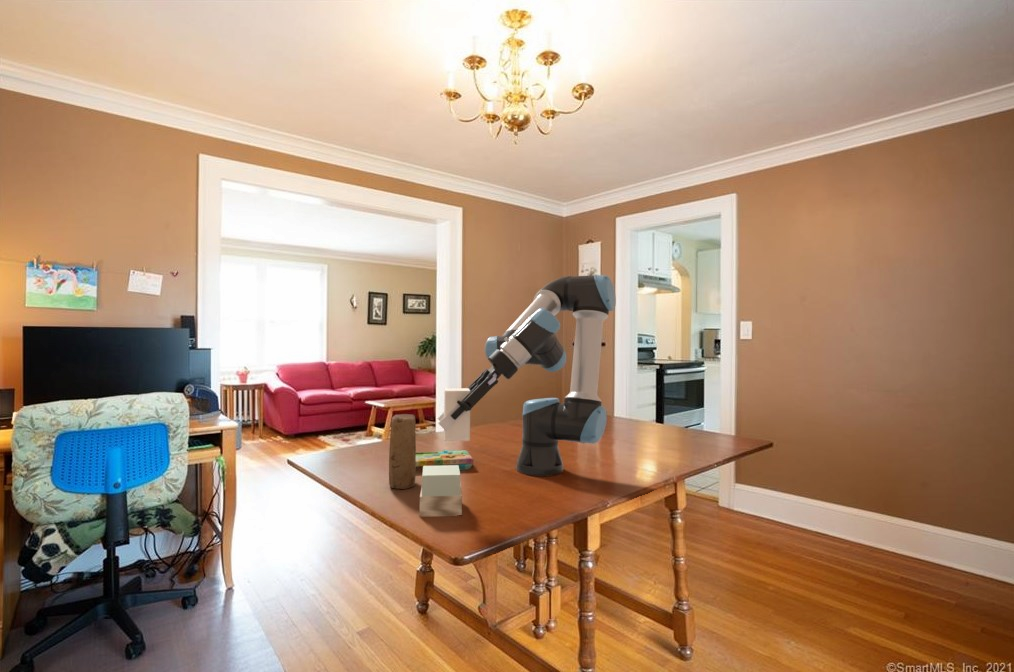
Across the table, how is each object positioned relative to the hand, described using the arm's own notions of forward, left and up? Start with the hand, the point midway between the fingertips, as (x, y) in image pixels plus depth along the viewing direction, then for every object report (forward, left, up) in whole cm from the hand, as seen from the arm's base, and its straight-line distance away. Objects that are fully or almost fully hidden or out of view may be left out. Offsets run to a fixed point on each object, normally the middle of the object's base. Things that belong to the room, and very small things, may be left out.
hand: (441, 424), depth 121 cm
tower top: (0, -2, -17) cm, 17 cm away
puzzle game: (0, -42, -22) cm, 48 cm away
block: (+11, -23, -22) cm, 33 cm away
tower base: (0, -2, -22) cm, 22 cm away
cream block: (-4, 0, -3) cm, 5 cm away
